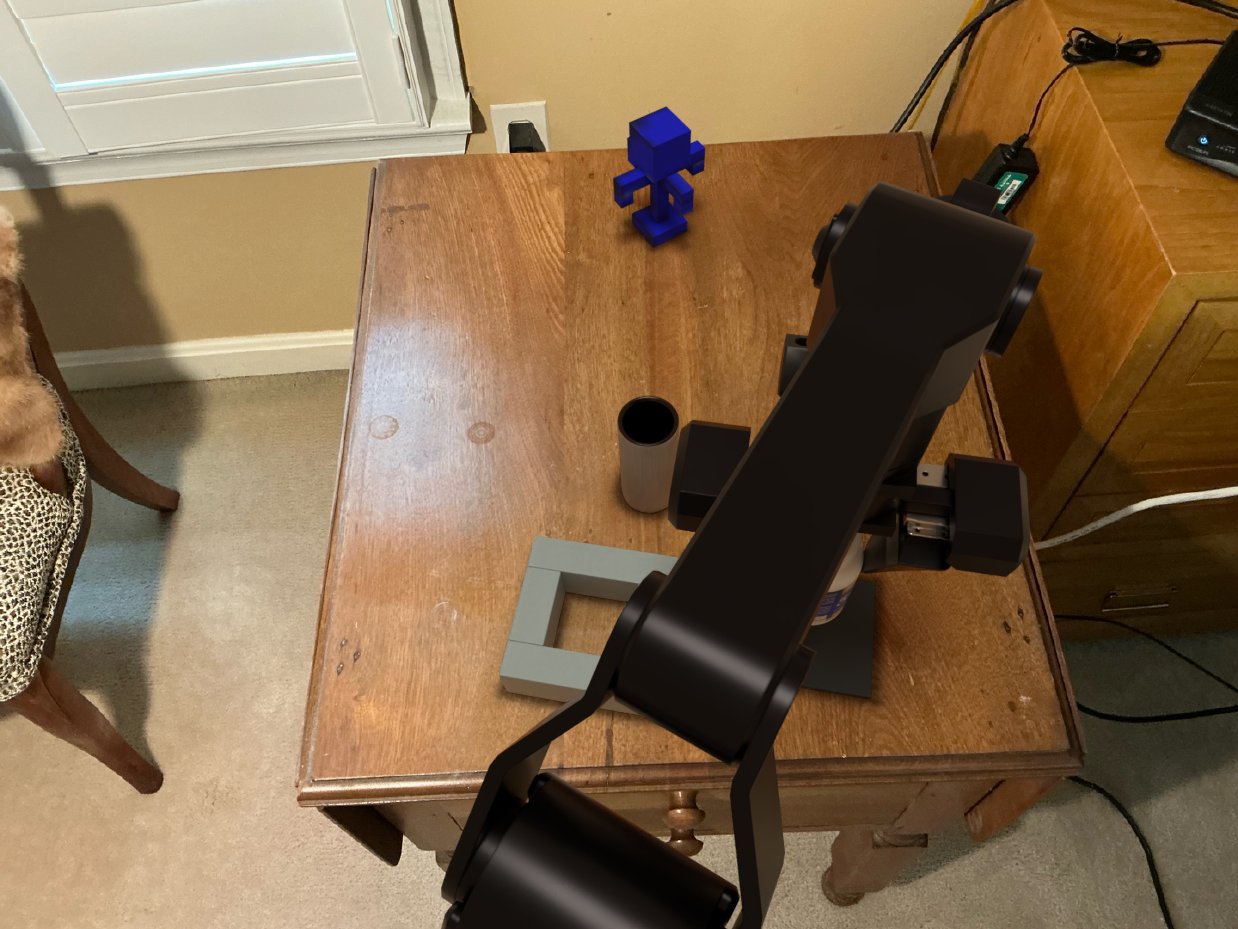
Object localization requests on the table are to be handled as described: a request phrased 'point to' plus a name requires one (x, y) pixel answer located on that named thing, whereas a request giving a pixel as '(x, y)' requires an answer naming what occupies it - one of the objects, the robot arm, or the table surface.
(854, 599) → the mat
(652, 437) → the grey cylindrical tube
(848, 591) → the pill bottle
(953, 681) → the table surface
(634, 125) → the figurine
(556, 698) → the stand
